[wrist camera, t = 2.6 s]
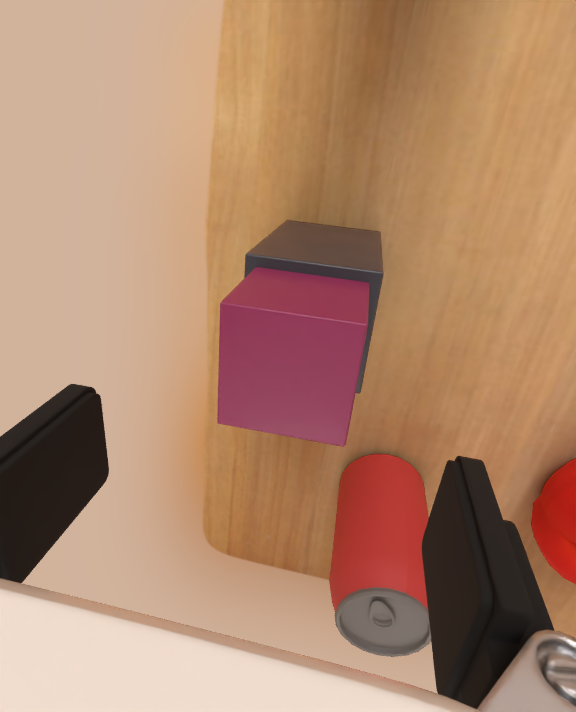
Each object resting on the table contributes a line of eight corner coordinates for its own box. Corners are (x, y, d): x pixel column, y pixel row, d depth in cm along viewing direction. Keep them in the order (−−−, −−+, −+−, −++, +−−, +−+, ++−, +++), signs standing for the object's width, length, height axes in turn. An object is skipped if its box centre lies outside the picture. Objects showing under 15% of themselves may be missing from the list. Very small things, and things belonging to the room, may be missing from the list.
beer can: (416, 444, 33) (435, 584, 23) (429, 509, 36) (452, 664, 25) (331, 454, 35) (313, 588, 24) (350, 516, 37) (340, 662, 27)
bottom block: (278, 308, 31) (239, 373, 22) (286, 219, 28) (245, 253, 19) (364, 321, 30) (360, 394, 21) (380, 231, 27) (383, 272, 18)
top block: (249, 366, 21) (216, 424, 17) (255, 266, 19) (219, 301, 15) (351, 383, 21) (345, 447, 16) (369, 282, 19) (368, 324, 14)
